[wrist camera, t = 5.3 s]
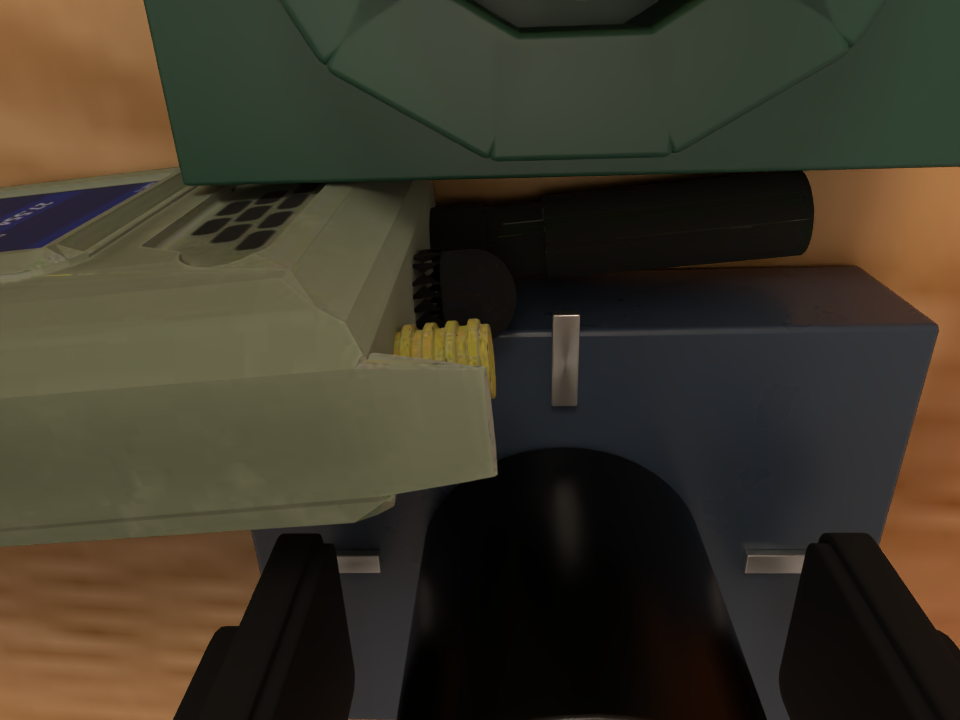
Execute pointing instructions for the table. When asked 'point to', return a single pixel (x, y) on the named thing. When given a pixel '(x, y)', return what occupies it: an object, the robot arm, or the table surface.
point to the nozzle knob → (570, 601)
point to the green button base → (554, 87)
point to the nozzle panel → (680, 433)
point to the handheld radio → (294, 336)
